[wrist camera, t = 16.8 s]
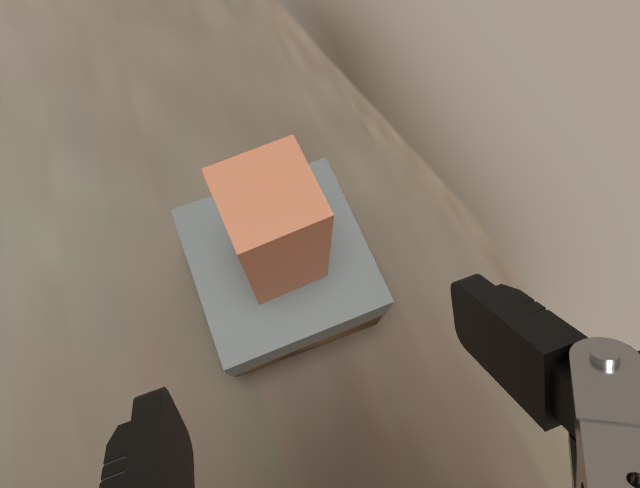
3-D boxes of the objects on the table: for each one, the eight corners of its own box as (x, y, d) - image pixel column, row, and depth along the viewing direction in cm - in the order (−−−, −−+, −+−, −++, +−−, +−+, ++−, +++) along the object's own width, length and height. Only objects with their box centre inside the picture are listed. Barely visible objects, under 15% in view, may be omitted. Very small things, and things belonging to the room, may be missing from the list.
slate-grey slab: (232, 376, 33) (223, 370, 30) (183, 231, 37) (170, 209, 34) (384, 314, 35) (394, 301, 32) (323, 182, 39) (325, 157, 36)
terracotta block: (259, 304, 31) (237, 254, 22) (232, 240, 33) (201, 168, 23) (327, 275, 32) (334, 215, 23) (298, 214, 34) (293, 134, 24)
